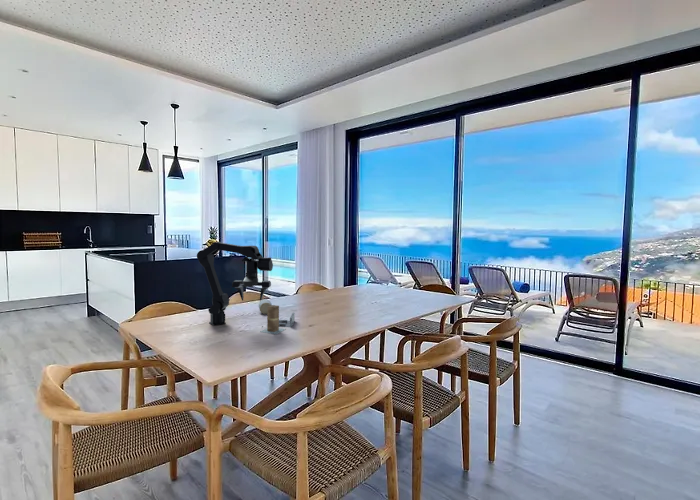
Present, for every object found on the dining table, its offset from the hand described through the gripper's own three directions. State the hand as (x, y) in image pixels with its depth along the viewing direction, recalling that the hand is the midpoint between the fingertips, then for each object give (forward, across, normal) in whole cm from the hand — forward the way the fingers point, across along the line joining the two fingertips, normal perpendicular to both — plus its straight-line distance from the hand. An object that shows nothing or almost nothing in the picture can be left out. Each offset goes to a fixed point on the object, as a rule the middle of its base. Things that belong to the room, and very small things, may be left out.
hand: (251, 300), depth 190 cm
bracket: (+13, +17, +3) cm, 21 cm away
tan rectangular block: (+12, +13, -10) cm, 20 cm away
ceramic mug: (+13, +3, +28) cm, 31 cm away
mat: (+13, +13, -10) cm, 21 cm away
